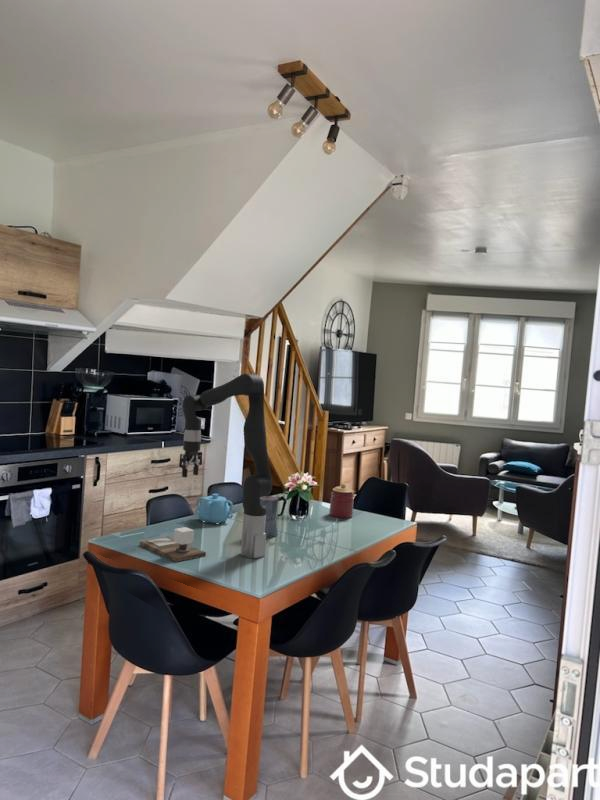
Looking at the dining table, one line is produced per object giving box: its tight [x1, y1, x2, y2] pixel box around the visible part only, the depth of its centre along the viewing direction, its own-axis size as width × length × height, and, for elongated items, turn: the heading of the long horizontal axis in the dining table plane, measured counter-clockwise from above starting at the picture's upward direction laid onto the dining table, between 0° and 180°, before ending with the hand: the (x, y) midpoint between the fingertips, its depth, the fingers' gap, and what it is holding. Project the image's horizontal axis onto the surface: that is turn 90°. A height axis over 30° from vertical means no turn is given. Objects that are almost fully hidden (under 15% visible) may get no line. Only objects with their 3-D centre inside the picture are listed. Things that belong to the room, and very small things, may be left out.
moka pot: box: [260, 493, 287, 538], centre depth 282 cm, size 10×15×20 cm, turn 117°
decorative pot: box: [194, 493, 234, 523], centre depth 299 cm, size 16×16×14 cm
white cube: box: [173, 526, 195, 545], centre depth 243 cm, size 6×6×5 cm
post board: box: [139, 536, 207, 563], centre depth 248 cm, size 26×14×10 cm, turn 47°
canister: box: [328, 483, 355, 519], centre depth 333 cm, size 13×13×18 cm
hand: (190, 476), depth 271 cm, fingers open, 8 cm apart
